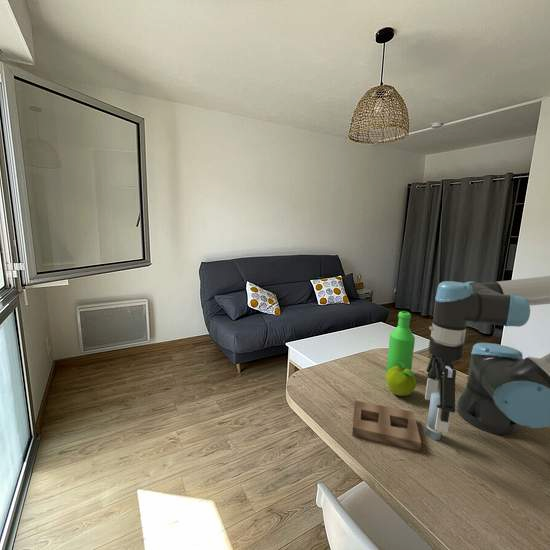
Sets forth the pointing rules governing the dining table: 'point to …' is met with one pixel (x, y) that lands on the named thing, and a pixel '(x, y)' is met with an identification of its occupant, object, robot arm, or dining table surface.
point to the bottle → (401, 343)
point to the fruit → (401, 380)
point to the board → (386, 425)
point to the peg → (433, 417)
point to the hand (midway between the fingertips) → (435, 413)
